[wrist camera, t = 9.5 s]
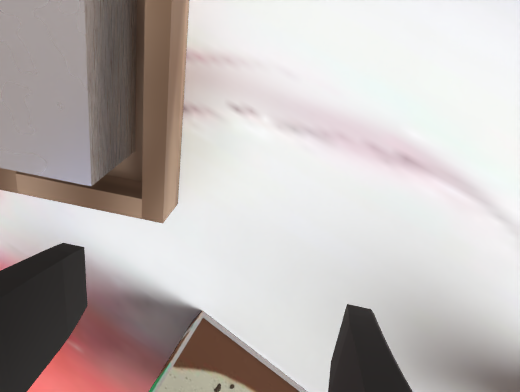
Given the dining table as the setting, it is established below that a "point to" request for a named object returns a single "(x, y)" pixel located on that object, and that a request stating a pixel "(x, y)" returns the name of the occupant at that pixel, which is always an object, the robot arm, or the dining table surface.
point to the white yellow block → (67, 87)
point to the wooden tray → (137, 128)
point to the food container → (218, 364)
